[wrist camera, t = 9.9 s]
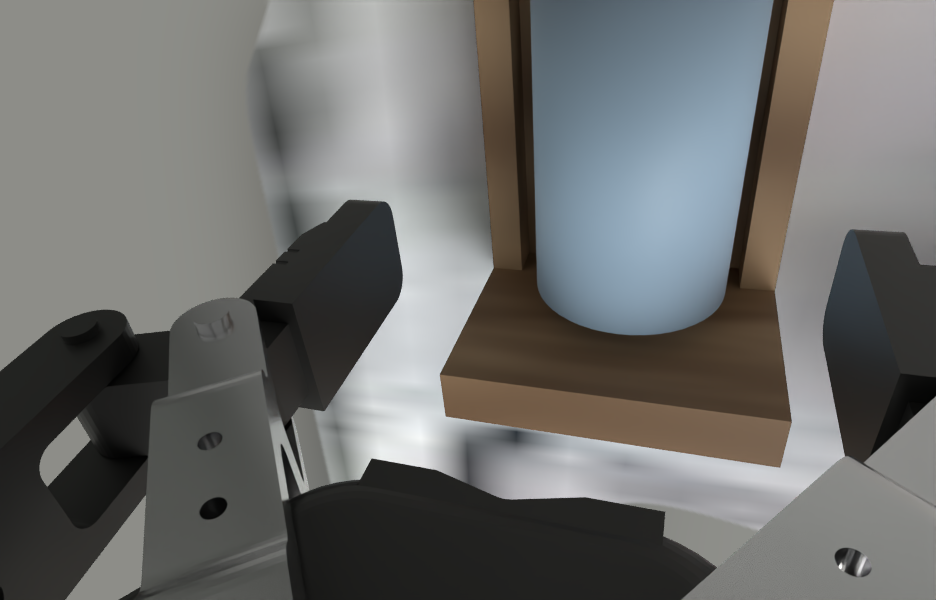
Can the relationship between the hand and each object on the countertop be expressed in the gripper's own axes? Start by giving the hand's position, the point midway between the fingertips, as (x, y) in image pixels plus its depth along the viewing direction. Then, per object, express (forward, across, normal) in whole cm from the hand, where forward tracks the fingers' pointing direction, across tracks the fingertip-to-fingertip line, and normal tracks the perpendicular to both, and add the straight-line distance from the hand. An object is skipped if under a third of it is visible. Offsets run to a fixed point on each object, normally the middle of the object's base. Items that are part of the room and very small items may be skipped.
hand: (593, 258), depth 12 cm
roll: (+7, 0, 0) cm, 7 cm away
